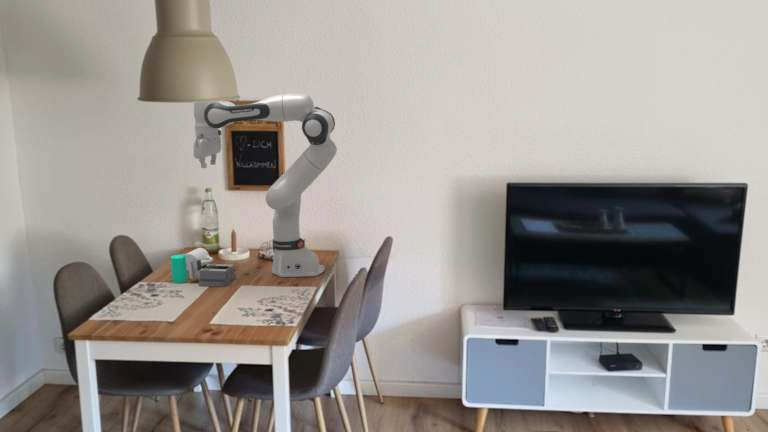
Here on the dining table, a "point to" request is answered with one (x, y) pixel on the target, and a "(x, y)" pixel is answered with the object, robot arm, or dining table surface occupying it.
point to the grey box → (217, 275)
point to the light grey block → (194, 268)
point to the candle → (179, 268)
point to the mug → (198, 257)
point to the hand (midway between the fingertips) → (208, 166)
